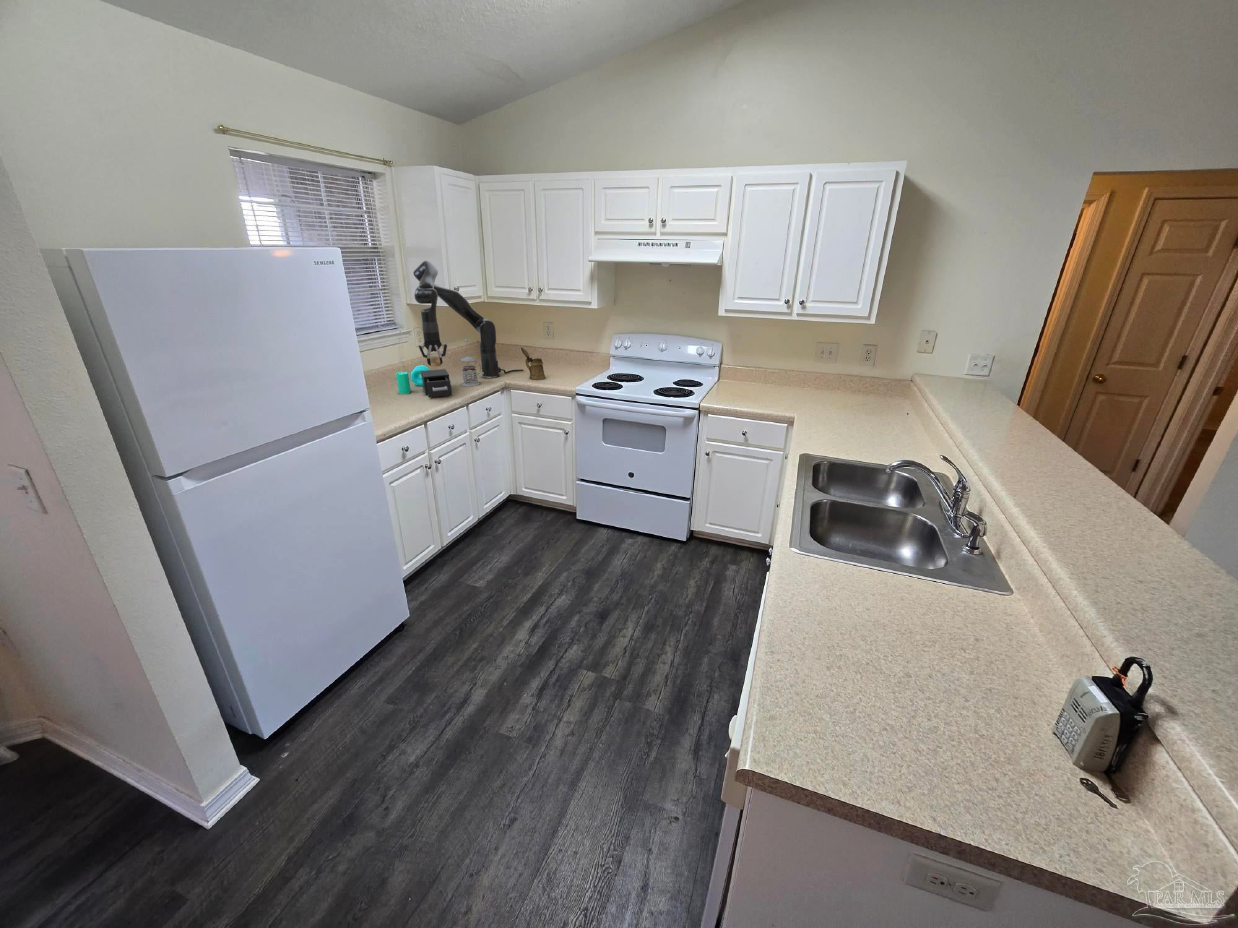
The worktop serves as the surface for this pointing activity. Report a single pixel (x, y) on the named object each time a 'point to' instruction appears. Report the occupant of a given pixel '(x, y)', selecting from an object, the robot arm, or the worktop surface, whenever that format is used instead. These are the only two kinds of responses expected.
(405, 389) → the candle
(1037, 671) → the worktop surface
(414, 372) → the donuts
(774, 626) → the worktop surface
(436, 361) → the block
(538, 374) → the wooden mug
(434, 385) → the drawer
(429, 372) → the box
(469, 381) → the french press
